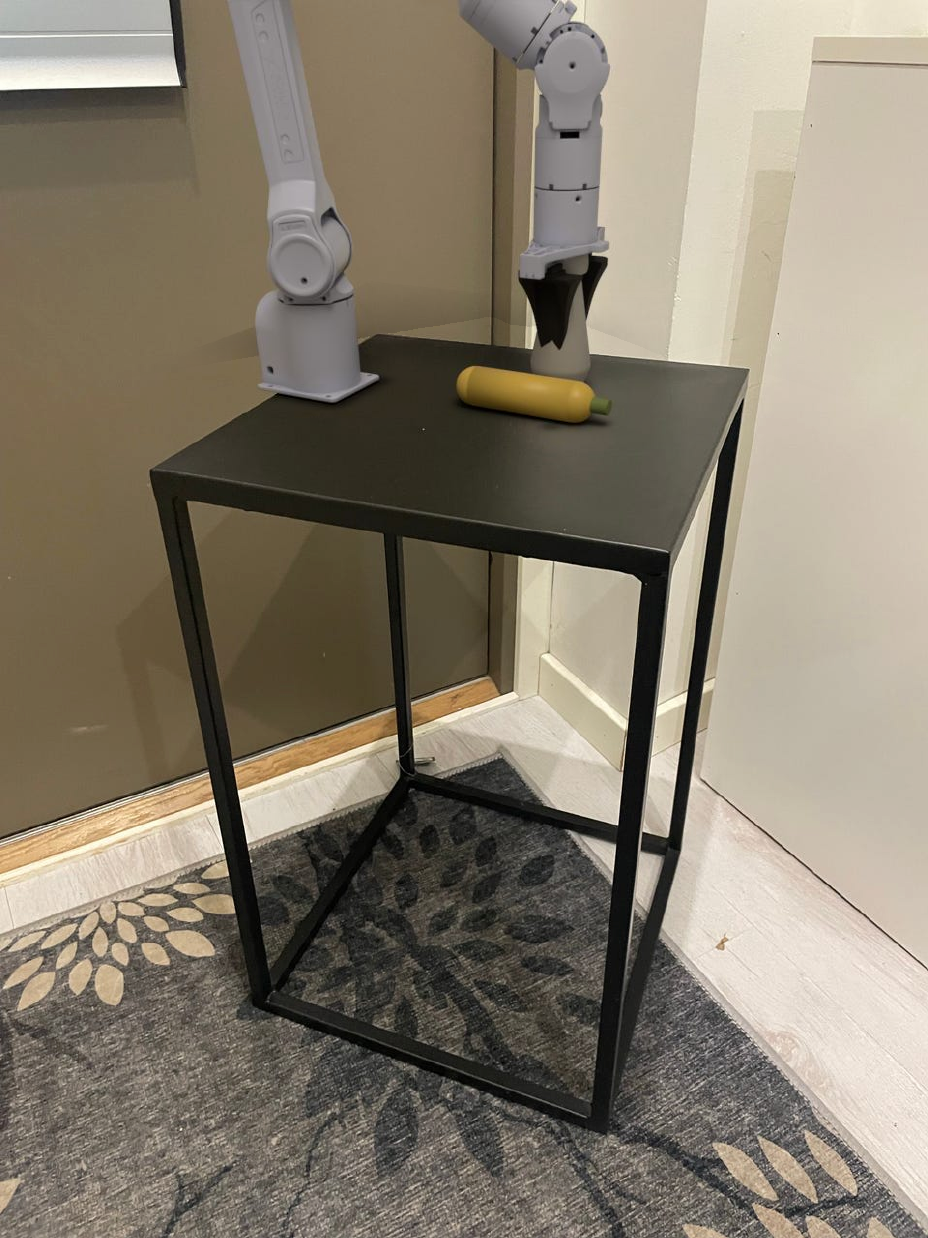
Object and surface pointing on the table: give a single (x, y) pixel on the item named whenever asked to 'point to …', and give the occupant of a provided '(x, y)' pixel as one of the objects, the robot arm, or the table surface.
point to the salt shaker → (567, 337)
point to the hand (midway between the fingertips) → (561, 342)
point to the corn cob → (530, 394)
